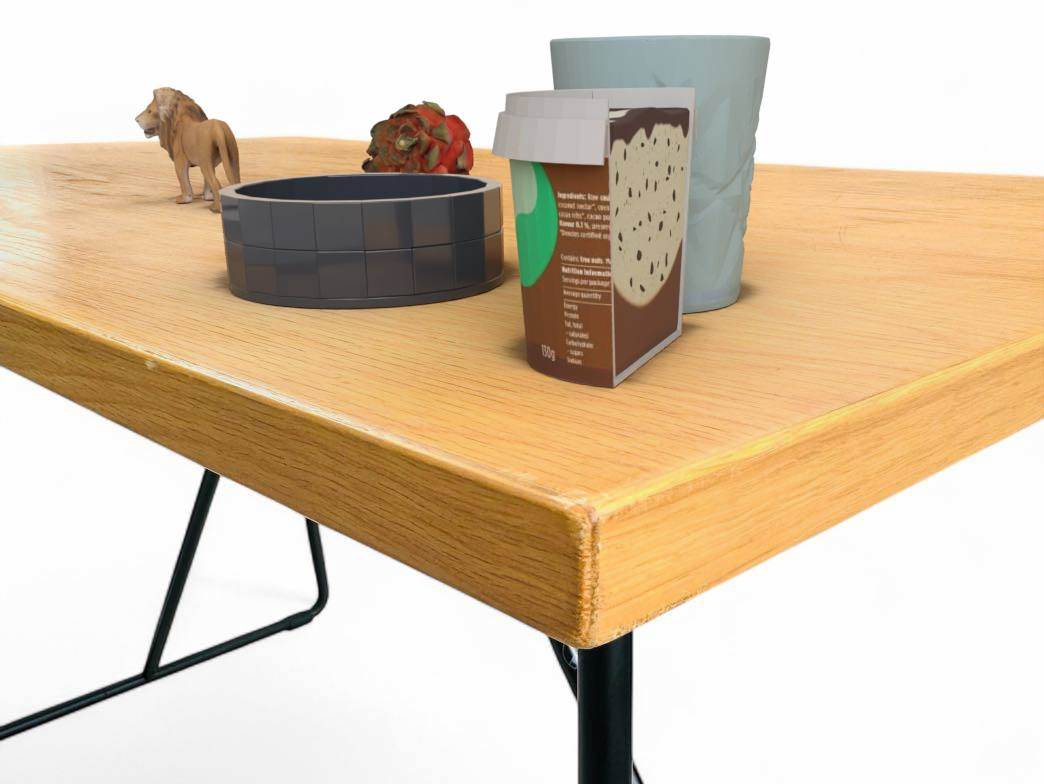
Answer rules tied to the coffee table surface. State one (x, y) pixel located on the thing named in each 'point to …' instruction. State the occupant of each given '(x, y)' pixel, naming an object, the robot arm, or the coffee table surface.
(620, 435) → the coffee table surface
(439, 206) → the dark grey round bowl
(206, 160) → the lion figurine
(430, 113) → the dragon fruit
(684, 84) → the drinking glass
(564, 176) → the food container
